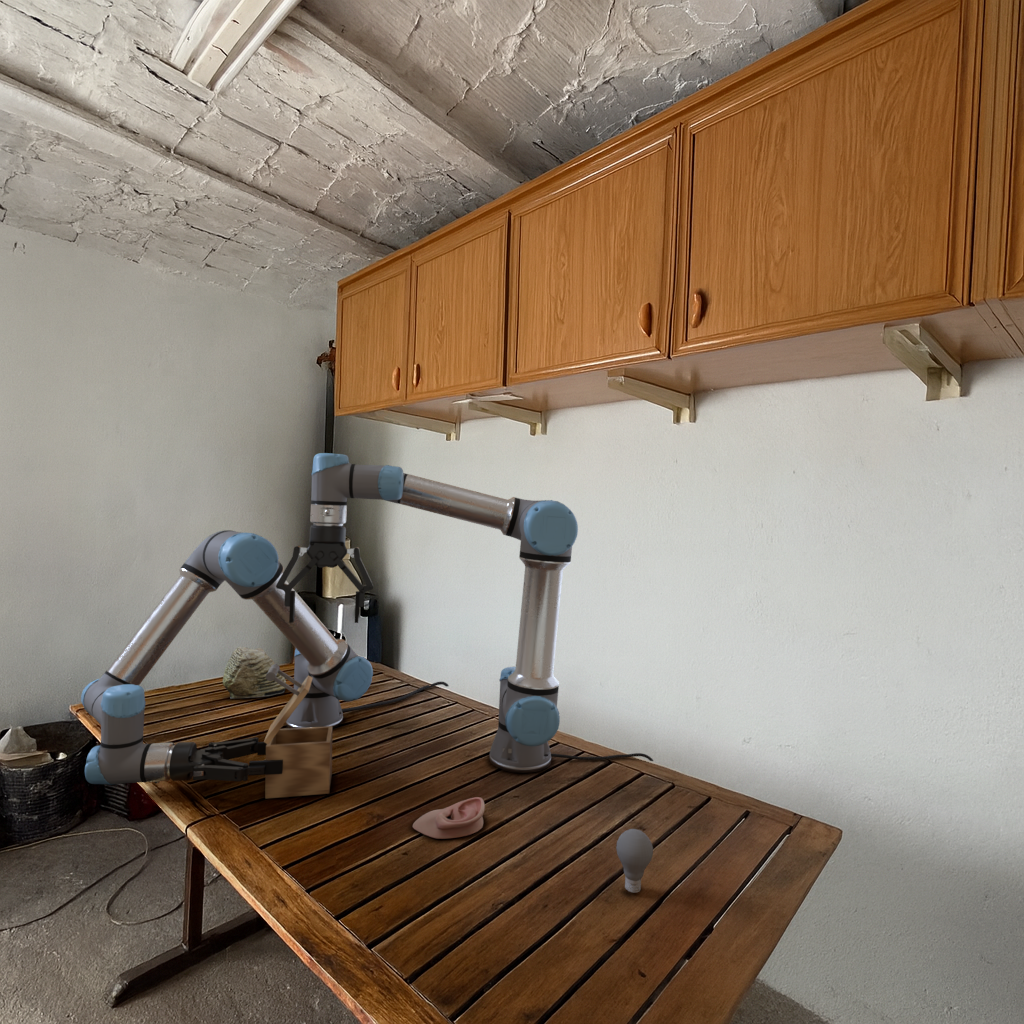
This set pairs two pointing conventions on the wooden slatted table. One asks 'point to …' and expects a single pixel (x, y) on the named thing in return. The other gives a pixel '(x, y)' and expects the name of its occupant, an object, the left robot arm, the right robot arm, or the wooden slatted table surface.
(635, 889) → the light bulb
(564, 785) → the wooden slatted table surface
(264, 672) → the fossil
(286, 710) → the lid
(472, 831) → the anatomical model
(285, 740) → the chest
